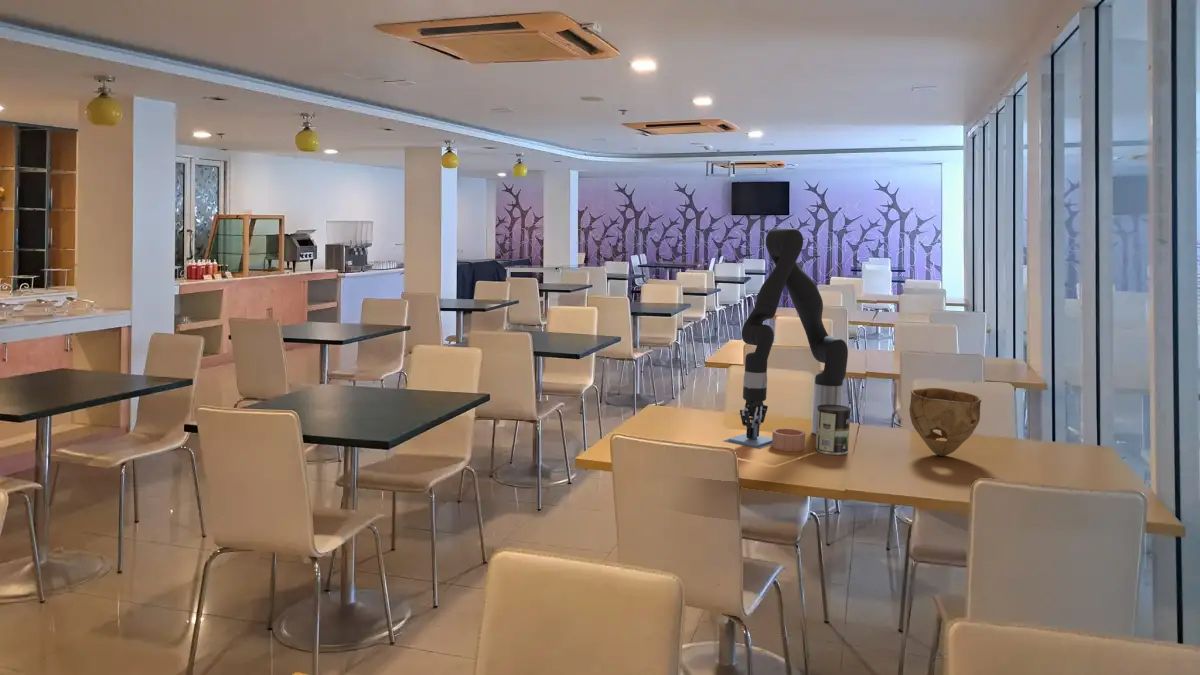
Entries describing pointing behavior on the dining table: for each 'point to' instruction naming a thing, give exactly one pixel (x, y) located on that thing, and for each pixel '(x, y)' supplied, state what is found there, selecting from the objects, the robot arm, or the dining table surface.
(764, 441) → the lid
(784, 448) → the faceted pink cup
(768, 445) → the mat
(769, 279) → the robot arm
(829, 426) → the coffee can
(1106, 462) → the dining table surface
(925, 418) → the bowl
